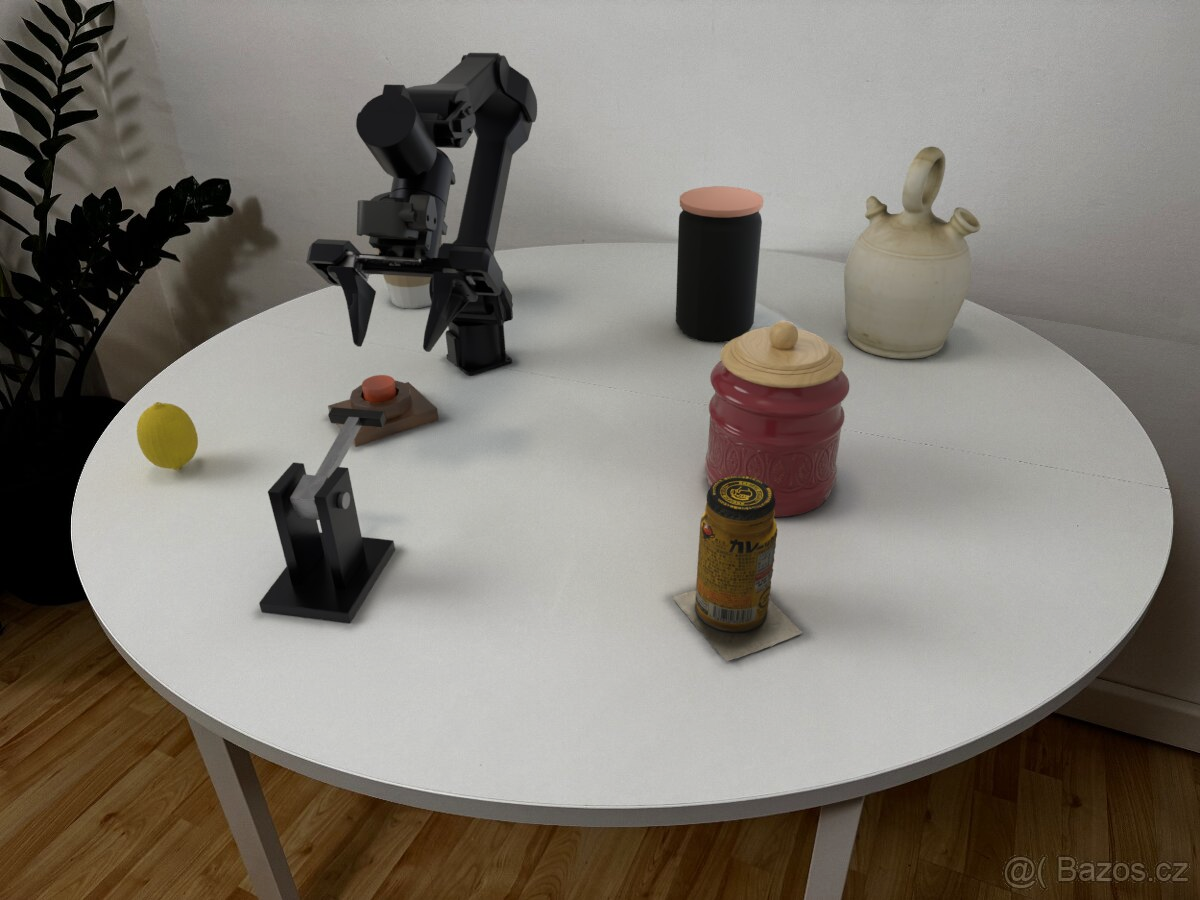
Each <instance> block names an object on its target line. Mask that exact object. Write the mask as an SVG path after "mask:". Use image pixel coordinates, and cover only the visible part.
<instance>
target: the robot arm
mask: <svg viewBox="0 0 1200 900" xmlns="http://www.w3.org/2000/svg"><path fill="white" fill-rule="evenodd" d="M537 117H538V100H537V96H536V92H535V91H534V88H533V86H532V84H531V81H530V79H529V78H528V77H526V76H525V75H523V74H522V73H521V72H519V71H518V70H516V69H515V68H513V67H512V66H511V65H510V64H509V62H508V59H507V57H506V56H505V55H504V54H503V55H501V54H500V53H499V52H468V54H463V55H462V57H461V59H460V62H459V63H458V64H457V65H456V66H454V67H453V68H452V69H450V71H448V72H446V74H445V75H444V76H443V77H442V78H440V79H439V80H438V81H437V82H435V83H431V84H421V85H413V86H410V87H409V86H408V87H406V85H404V84H388V83H387V84H384V85H383V89H382V93H381V94H379V95H377V96H375V97H373V98H372V99H370V100H368V101H367V103H366V104H365V105H364V106H363V107H362V108H361V110H360V112H358V113H357V116H356V121H355V122H356V123H355V127H356V131H357V134H358V135H359V138H360V139H361V140H362V143H364V144H365V146H366V147H367V149H368V150H369V152H370V154H371V155H372V156H373V157H374V159H375V160H376V161H377V163H378V164H379V166H380V167H381V169H382V170H383V171H384V172H385V173H386V174H387V175H389V176H391V177H392V184H391V188H390V192H391V193H390V197H384V198H383V200H382V201H370V200H371V199H370V200H367V199H358V200H357V206H356V207H357V208H356V209H357V210H356V212H357V213H356V235H357V236H359V237H362V236H367V237H369V239H368V244H369V245H370V246H371V247H372V248H373V249H376V248H378V249H379V255H378V254H376V253H375V254H374V253H371V254H370V253H361V251H360V250H358V249H357V247H356V246H355V245H354V244H353V243H352V242H351V241H350V240H349V239H348V240H346V239H345V240H344V239H329V238H328V239H327V238H326V239H325V238H317V239H316V240H315V241H313V242H312V243H311V244H310V245H309V247H308V251H307V256H306V260H305V263H306V264H307V265H308V266H309V267H310V268H311V269H312V270H313V271H315V273H317V274H318V275H319V277H321V278H322V279H323V280H324V281H325V282H326V283H327V284H329V285H332V286H335V287H341V288H342V292H343V294H344V298H345V302H346V306H347V312H348V318H349V323H350V329H351V330H350V331H351V336H352V342H353V345H354V346H356V347H358V348H361V347H362V346H363V344H364V341H365V338H366V336H367V332H368V329H369V324H370V319H371V314H372V311H373V307H374V302H375V298H376V295H377V291H376V289H375V288H373V287H372V285H370V284H369V283H368V281H369V278H370V275H383V276H384V275H398V276H415V277H431V279H430V285H429V293H430V298H431V302H432V303H431V305H430V306H429V312H428V317H427V320H426V325H425V329H424V334H423V345H422V349H423V350H424V351H425V352H427V353H430V352H431V351H432V350H433V348H434V347H435V345H436V344H437V343H438V341H439V340H440V339H441V337H442V336H443V334H444V333H445V340H446V341H445V342H446V349H447V353H446V359H447V360H448V361H449V362H450V363H452V365H454V366H455V367H457V369H459V370H460V371H462V372H463V373H464V374H465V375H466V376H474V375H477V374H480V373H483V372H486V371H490V370H493V369H496V368H499V367H504V366H506V365H509V364H512V363H513V358H512V357H511V356H509V355H508V354H507V350H506V340H505V339H506V338H505V326H504V324H505V323H506V322H509V321H513V319H514V312H513V308H514V307H513V306H514V302H513V293H512V292H511V291H510V289H509V287H508V286H507V284H506V283H505V281H504V275H503V272H504V271H503V270H502V268H501V267H500V265H499V263H498V261H497V258H496V256H495V249H496V246H497V245H496V244H497V239H498V234H499V228H500V224H501V218H502V213H503V208H504V202H505V196H506V192H507V186H508V181H509V177H510V176H509V175H510V170H511V164H512V160H513V155H515V153H516V152H517V151H518V150H519V149H521V148H522V147H523V145H525V143H527V142H528V141H529V138H530V135H531V130H532V126H533V123H535V122H536V120H537ZM473 133H474V134H475V136H476V143H475V148H474V154H473V158H472V163H471V168H470V173H469V178H468V182H467V187H466V193H465V196H464V197H465V198H464V203H463V207H462V212H461V218H460V222H459V227H458V233H457V236H456V239H455V240H454V241H453V242H452V243H451V242H442V240H441V235H442V236H447V232H448V225H447V223H446V221H445V218H446V213H447V207H448V200H449V195H450V190H451V186H454V185H456V182H457V181H456V175H455V172H454V165H453V163H452V160H451V159H450V157H449V156H448V154H447V153H446V152H445V151H443V150H442V149H441V148H444V149H462V148H464V147H465V146H466V144H467V143H468V141H469V139H470V137H471V136H472V134H473ZM440 241H441V242H442V243H441V246H440ZM439 247H440V248H439ZM447 328H448V330H447Z"/></svg>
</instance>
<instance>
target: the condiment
mask: <svg viewBox="0 0 1200 900" xmlns="http://www.w3.org/2000/svg"><path fill="white" fill-rule="evenodd" d="M775 503H776V499H775V496H774V492H773V490H772V489H771V488H770V487H769V486H768V485H766V484H765V483H763V482H762V481H760V480H757V479H755V478H751V477H745V476H729V477H726V478H722V479H718V480H717V481H716V482H715V483H713V484H712V486H711V487H710V486H709V489H708V491H707V493H706V503H705V508H704V512H703V514H702V516H701V519H700V524H699V525H700V526H699V535H698V536H699V537H698V538H699V539H698V551H697V569H696V583H695V589H694V590H689V591H686V592H684V593H680V594H677V595H675V596H671V598H672V599H673V600H674V602H675V603H676V604H677V605H678V607H679V608H680V610H682V612H683V613H684V614H685V615H686V617H687V618H688V619H689V620H690V621H691V622H692V624H693V625H694V626H695V627H696V628H697V629H698V631H700V632H701V633H702V634H703V635H704V637H705V639H706V640H707V641H708V642H709V643H710V645H711V646H712V647H713V648H714V649H715V650H716V652H718V653H719V654H720V656H721V657H722V659H724V661H725V662H729V661H731V660H735V659H739V658H742V657H744V656H747V655H750V654H753V653H756V652H759V651H761V650H764V649H767V648H772V647H773V646H775V645H777V644H779V643H781V642H785V641H787V640H791V639H792V638H794V637H796V636H799V635H802V634H803V632H802V631H801V630H800V629H799V628H798V626H797V625H796V624H794V623H793V621H791V619H790V618H789V617H788V616H787V615H786V614H784V612H783V611H782V609H780V608H779V607H778V606H777V605H775V604H774V603H773V601H771V599H770V596H771V589H772V578H773V573H774V562H775V554H776V548H777V537H778V527H777V522H776V520H775V516H774V515H775V511H774V507H775Z"/></svg>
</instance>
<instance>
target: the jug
mask: <svg viewBox="0 0 1200 900" xmlns="http://www.w3.org/2000/svg"><path fill="white" fill-rule="evenodd" d="M945 171H946V156H945V153H944V151H943V150H941V149H940V148H939V147H937V146H927V147H924V148H922V149H921V150H920V151H918V152H917V153H916V155H915V157H914V158H913V159H912V161H911V163H910V166H909V167H908V169H907V173H906V176H905V179H904V183H903V188H902V193H901V204H902V206H903V209H904V210H903V211H901V212H900V213H890V212H889V211H888V205H887V204H885V203H883V202H881V201H880V200H879V199H878V197H876V196H874V195H871V196H869V197H868V198H867V199H866V202H865V204H866V212H865V214H864V217H865V218H866V219H867V220H868V221H869V224H868V226H867V227H866V228H865V229H864V230H863V232H861V234H860V235H859V236H858V238H857V239H856V240H855V242H854V243H853V245H852V247H851V248H850V251H849V253H848V257H847V258H846V262H845V265H844V269H843V270H844V272H843V288H844V293H843V294H844V307H845V309H844V310H845V311H844V312H845V322H846V328H847V338H848V340H849V341H850V343H851V344H853V346H855V347H856V348H857V349H859V350H861V351H863V352H865V353H868V354H870V355H874V356H879V357H884V358H888V359H896V360H915V359H923V358H928V357H931V356H934V355H935V354H937V353H938V352H940V351H941V350H942V348H943V347H944V345H945V344H944V343H945V342H946V341H947V338H948V336H949V335H950V333H951V330H952V327H953V325H954V323H955V321H956V319H957V317H958V315H959V314H960V311H961V309H962V307H963V305H964V302H965V299H966V297H967V294H968V291H969V288H970V284H971V281H972V275H973V259H972V254H971V251H970V247H969V245H968V243H967V240H966V239H965V237H967V236H969V235H971V234H975V233H978V232H979V231H980V230H981V224H980V221H979V220H978V218H977V217H976V216H975V215H974V214H973V213H972V212H971V211H970V210H968V209H967V208H965V207H955V208H954V210H953V214H952V216H951V217H950V219H949V221H948V222H947V221H946V220H944V219H943V218H941V217H938V216H937V215H935V214H934V212H933V209H932V206H933V204H934V202H935V200H936V199H937V198H938V197H937V196H938V195H939V193H940V189H941V187H942V183H943V180H944V176H945Z"/></svg>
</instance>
